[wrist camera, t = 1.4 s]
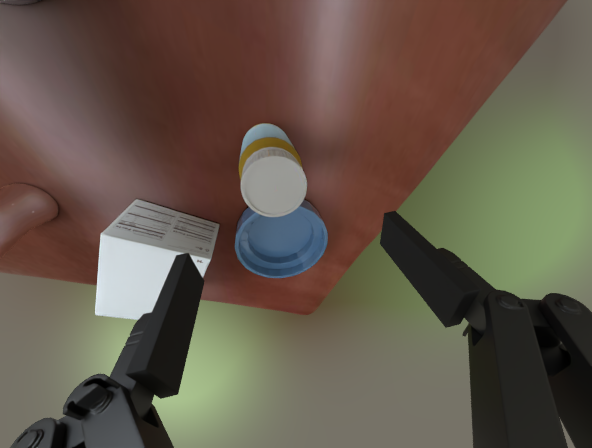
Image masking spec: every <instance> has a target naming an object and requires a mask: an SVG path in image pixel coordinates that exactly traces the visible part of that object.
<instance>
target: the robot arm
mask: <svg viewBox="0 0 592 448" xmlns="http://www.w3.org/2000/svg"><path fill="white" fill-rule="evenodd" d="M38 1H41V0H0V2H1V3H6V4H15V5H18V4H31V3H35V2H38ZM380 244H381V246H382V247H383V248H384V249H385V251H386V252H387V253H388V255H389V256H390V257H391V258H392V260H393V261H394V262H395V264H396V265H397V266H398V267H399V269H400V270H401V271H402V272H403V274H404V275H405V276H406V278H407V279H408V280H409V281H410V283H411V284H412V285H413V287H414V288H415V289H416V290H417V292H418V293H419V294H420V295H421V297H422V298H423V299H424V301H425V302H426V303H427V304H428V306H429V307H430V308H431V310H432V311H433V312H434V313H435V315H436V316H437V317H438V318H439V320H440V321H441V322H442V323H443V325H444V326H445V327H450V326H454V325H458V324H460V323H461V322H462V320H463V318H465V319H466V320H467V321H468V322H469V324H468V326H467V327H466V329H465V330H464V332H463V336H466V334H467V333H468V343H469V344H468V345H469V366H470V387H471V408H472V429H473V448H568V447H567V443H566V439H565V436H564V432H563V429H562V425H561V422H560V419H561V421H562V423H563V425H564V427H565V429H566V431H567V432H568V434H569V436H570V438H571V440H572V442H573V444H574V446H575V448H592V312H591V311H590V310H589V309H588V308H587V307H586V306H584V305H583V304H582V303H580V302H579V301H577V300H575V299H573V298H571V297H569V296H566V295H562V294H557V293H550V294H548V295H546V296H545V297H544V298H543V299H542V300H530V299H520V298H519V297H517V296H515V295H514V294H512V293H509V292H506V291H501V290H496V289H495V288H493V287H492V286H491V285H490V284H489V283H487V282H486V281H485V280H484V279H483V278H482V277H481V276H479V275H478V274H477V273H476V272H475V271H474V270H472V269H471V268H470V267H468V265H467V264H465V263H464V262H463V261H461V259H460V258H458V257H457V256H456V255H455V254H454V253H452V252H450V251H448V250H446V249H444V248H440V249H436V248H435V247H434V246H433V245H431V243H429V242H428V241H427V240H426V239H425V238H424V237H423V236H422V235H421V234H420V233H419V232H418V231H416V230H415V229H414V228H413V227H412V226H411V225H410V224H409V223H408V222H407V221H405V220H404V219H403V218H402V217H401V216H400V215H399V214H398V213H397V212H396V211H393V212H388V213H384V220H383V226H382V233H381V240H380ZM203 285H204V279H203V278H202V276H201V274H200V272H199V270H198V269H197V267H196V265H195V263H194V262H193V260H192V258H191V256H190V255H189V253H185V254H180V255H176V257H175V259H174V262H173V264H172V266H171V268H170V271H169V273H168V275H167V278H166V280H165V282H164V285H163V287H162V289H161V292H160V294H159V296H158V299H157V301H156V303H155V306H154V308H153V310H152V312H150V313H145V314H143V315H142V316H141V317H140V319H139V320H138V321H137V322H136V324H135V325H134V327H133V329H132V331H131V333H130V337H129V338H128V339H127V342H126V346H124V348H123V350H122V352H121V354H120V356H119V358H118V361H117V362H116V365H115V367H114V369H113V371H112V373H111V375H110V377H108V376H107V375H105V374H96V375H93V376H91V377H89V378H88V379H86V380H84V381H83V382H82V383H81V384H80V385H79V386H77V387H76V388H75V389H74V391H73V392H72V393H71V394H70V396H69V397H68V399H67V401H66V403H65V405H64V407H63V414H64V415H67V416H65V417H63V418H61V419H59V420H56V419H53V418H44V419H42V420H40V421H37V422H35V423H34V424H33V425H31V426H30V427H29V428H27V429H26V430H25V431H24V432H23V433H22V434H21V435H20V436H19V437H18V438H17V439H16V440H15V442H14V443H13V444H12V446H11V447H10V448H174V447H173V445H172V442H171V440H170V438H169V436H168V434H167V432H166V430H165V428H164V426H163V424H162V421H161V419H160V417H159V415H158V413H157V411H156V409H155V407H154V406H153V404H152V400H153V397H154V394H155V395H156V396H158V397H159V398H165V397H169V396H173V395H177V394H178V392H179V388H180V384H181V379H182V375H183V371H184V366H185V362H186V358H187V354H188V349H189V345H190V341H191V337H192V332H193V328H194V324H195V320H196V315H197V311H198V307H199V302H200V298H201V294H202V290H203ZM559 417H560V418H559Z"/></svg>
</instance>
